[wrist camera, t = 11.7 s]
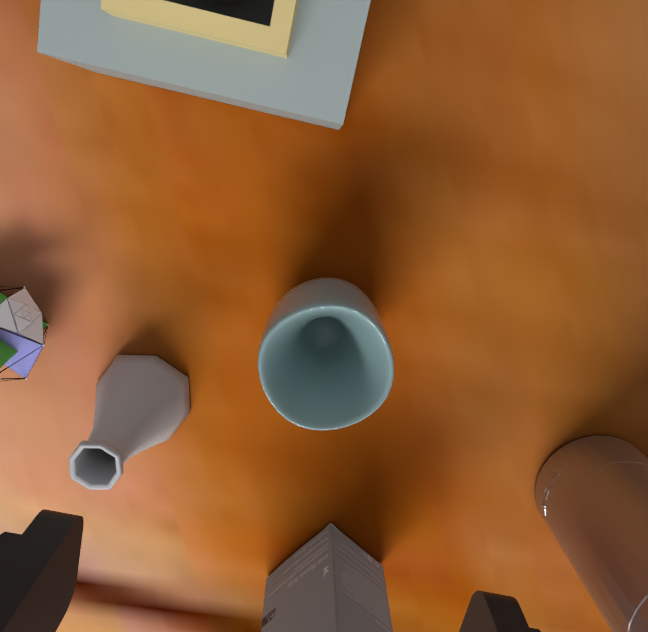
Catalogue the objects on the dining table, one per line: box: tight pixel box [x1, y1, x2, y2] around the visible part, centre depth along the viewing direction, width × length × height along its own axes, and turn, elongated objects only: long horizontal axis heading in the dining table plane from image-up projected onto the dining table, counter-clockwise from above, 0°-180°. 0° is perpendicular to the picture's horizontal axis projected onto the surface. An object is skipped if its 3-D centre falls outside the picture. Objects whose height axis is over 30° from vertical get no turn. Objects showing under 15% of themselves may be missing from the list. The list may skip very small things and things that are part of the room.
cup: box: [258, 277, 394, 430], centre depth 36 cm, size 8×8×10 cm
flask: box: [68, 355, 190, 490], centre depth 38 cm, size 7×7×10 cm
